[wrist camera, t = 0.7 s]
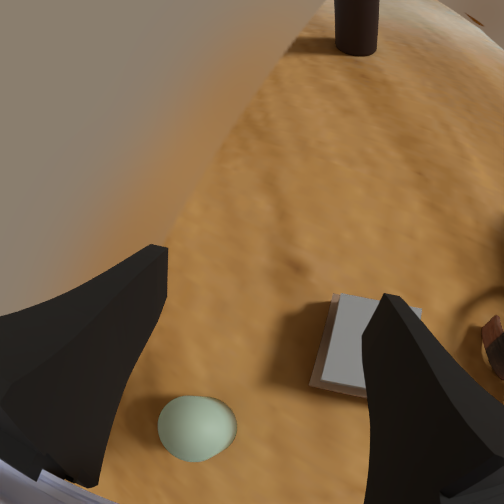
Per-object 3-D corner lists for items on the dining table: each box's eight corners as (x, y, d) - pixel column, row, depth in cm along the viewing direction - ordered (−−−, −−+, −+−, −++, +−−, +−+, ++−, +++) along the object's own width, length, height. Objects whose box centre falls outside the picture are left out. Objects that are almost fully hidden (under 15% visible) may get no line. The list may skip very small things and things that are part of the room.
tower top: (399, 395, 19) (407, 394, 17) (319, 380, 21) (321, 379, 19) (413, 316, 21) (421, 308, 20) (338, 301, 23) (341, 293, 21)
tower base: (392, 403, 21) (401, 403, 19) (308, 385, 23) (308, 384, 21) (410, 320, 24) (419, 312, 21) (330, 303, 26) (333, 293, 23)
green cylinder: (226, 462, 21) (212, 472, 17) (171, 439, 22) (149, 444, 18) (245, 408, 22) (234, 410, 19) (189, 388, 24) (169, 385, 20)
